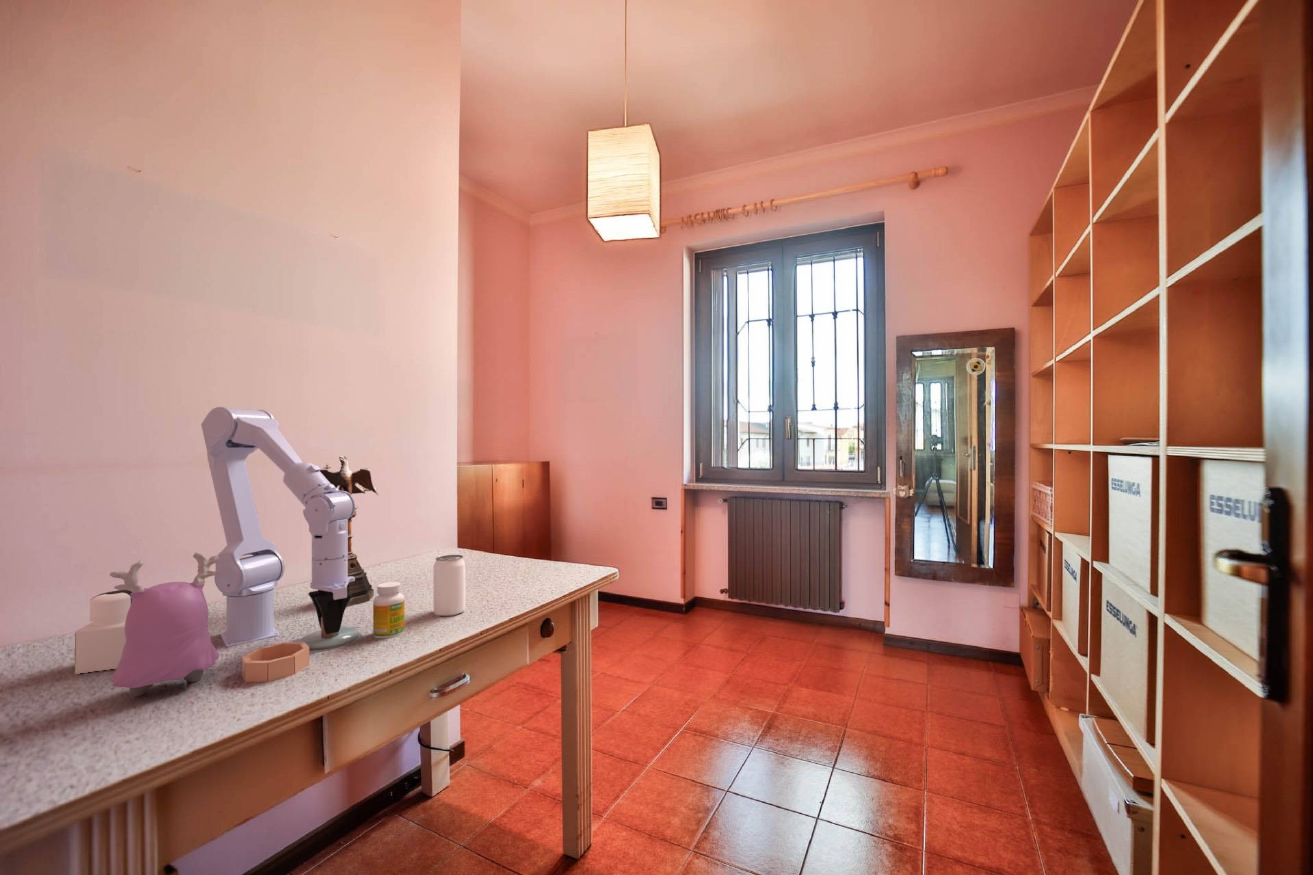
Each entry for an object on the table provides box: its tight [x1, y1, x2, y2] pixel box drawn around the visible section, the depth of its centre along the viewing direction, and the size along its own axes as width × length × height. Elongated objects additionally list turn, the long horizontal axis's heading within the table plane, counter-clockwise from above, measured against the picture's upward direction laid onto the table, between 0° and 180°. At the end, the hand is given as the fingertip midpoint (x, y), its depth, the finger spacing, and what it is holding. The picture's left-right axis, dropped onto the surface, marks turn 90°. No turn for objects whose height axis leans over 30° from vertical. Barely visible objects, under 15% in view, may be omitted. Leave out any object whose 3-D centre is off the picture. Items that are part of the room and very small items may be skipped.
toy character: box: [109, 552, 220, 698], centre depth 79 cm, size 12×10×20 cm
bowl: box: [241, 641, 310, 683], centre depth 84 cm, size 8×8×3 cm
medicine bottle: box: [74, 589, 132, 675], centre depth 88 cm, size 7×7×12 cm
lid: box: [300, 617, 359, 650], centre depth 97 cm, size 9×9×4 cm
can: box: [432, 554, 466, 618], centre depth 114 cm, size 6×6×12 cm
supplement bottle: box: [372, 581, 406, 639], centre depth 100 cm, size 5×5×10 cm
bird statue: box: [320, 455, 379, 607], centre depth 126 cm, size 17×13×35 cm
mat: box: [291, 626, 368, 656], centre depth 97 cm, size 10×10×1 cm
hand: (329, 630), depth 97 cm, fingers closed on lid, 3 cm apart
